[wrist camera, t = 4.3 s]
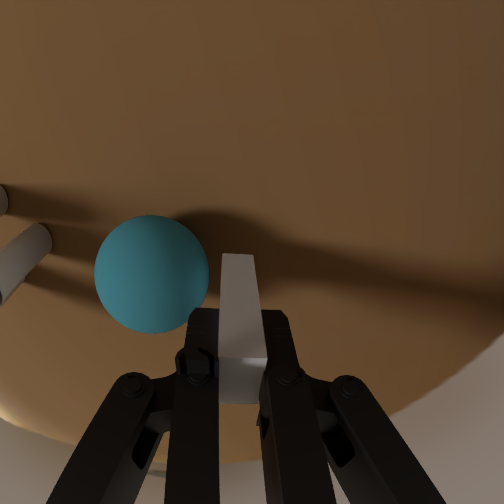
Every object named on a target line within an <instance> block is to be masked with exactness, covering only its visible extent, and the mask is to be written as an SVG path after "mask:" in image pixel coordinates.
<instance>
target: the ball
mask: <svg viewBox="0 0 504 504" xmlns="http://www.w3.org/2000/svg"><path fill="white" fill-rule="evenodd" d="M94 278H95V285H96V290H97V293H98V295H99V298H100V300H101V302H102V304H103V306H104V307H105V309H106V310H107V311H108V313H109V314H110V315H111V316H112V317H113V318H114V319H115V320H117V321H118V322H119V323H121V324H122V325H124V326H125V327H127V328H129V329H132V330H135V331H138V332H142V333H153V334H156V333H163V332H167V331H171V330H173V329H176V328H178V327H180V326H181V325H183V324H184V323H186V322H187V321H188V319H189V315H190V314H191V312H192V311H193V310H194V309H195V307H196V308H200V306H201V305H202V303H203V301H204V299H205V296H206V293H207V290H208V285H209V265H208V261H207V257H206V254H205V252H204V249H203V247H202V246H201V244H200V242H199V241H198V239H197V238H196V237H195V236H194V234H193V233H192V232H191V231H190V230H189V229H187V228H186V227H185V226H183V225H182V224H180V223H179V222H177V221H175V220H172V219H170V218H166V217H163V216H155V215H146V216H140V217H135V218H133V219H130V220H128V221H125V222H124V223H122V224H120V225H119V226H118V227H116V228H115V229H114V230H113V231H112V232H111V233H110V234H109V235H108V236H107V237H106V239H105V240H104V242H103V243H102V245H101V247H100V249H99V252H98V254H97V258H96V262H95V269H94Z"/></svg>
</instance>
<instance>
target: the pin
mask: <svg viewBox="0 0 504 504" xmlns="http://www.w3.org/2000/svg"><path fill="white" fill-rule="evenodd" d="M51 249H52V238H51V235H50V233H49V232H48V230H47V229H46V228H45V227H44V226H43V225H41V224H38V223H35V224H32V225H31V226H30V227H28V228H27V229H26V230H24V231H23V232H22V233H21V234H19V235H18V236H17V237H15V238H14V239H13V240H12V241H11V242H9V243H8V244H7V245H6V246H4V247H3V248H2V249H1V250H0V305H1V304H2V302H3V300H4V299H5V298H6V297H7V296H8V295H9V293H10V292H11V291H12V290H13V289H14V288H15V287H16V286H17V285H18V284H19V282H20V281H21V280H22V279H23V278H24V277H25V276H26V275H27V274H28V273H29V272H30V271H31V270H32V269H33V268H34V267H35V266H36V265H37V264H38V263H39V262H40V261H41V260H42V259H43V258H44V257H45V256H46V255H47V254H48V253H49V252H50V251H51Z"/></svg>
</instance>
